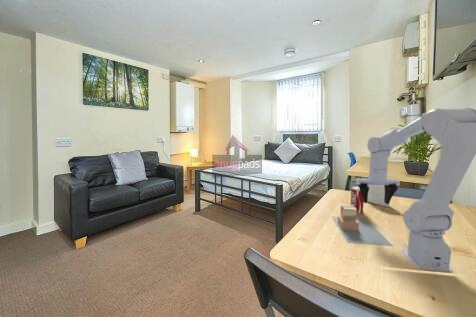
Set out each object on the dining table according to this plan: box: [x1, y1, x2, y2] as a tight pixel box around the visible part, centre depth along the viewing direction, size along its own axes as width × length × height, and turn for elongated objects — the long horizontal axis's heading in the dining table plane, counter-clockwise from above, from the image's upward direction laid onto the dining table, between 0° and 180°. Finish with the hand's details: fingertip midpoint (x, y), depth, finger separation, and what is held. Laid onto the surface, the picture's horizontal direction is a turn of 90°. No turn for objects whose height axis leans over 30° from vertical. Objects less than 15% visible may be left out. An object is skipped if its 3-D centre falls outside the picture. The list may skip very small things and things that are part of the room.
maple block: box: [339, 204, 358, 222], centre depth 83 cm, size 4×4×5 cm
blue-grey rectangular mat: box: [331, 216, 393, 247], centre depth 81 cm, size 22×14×1 cm, turn 169°
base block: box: [337, 215, 359, 230], centre depth 83 cm, size 6×6×3 cm
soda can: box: [350, 186, 365, 214], centre depth 98 cm, size 5×5×12 cm
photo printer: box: [367, 184, 390, 208], centre depth 109 cm, size 10×4×12 cm, turn 28°
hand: (375, 202), depth 81 cm, fingers open, 7 cm apart
